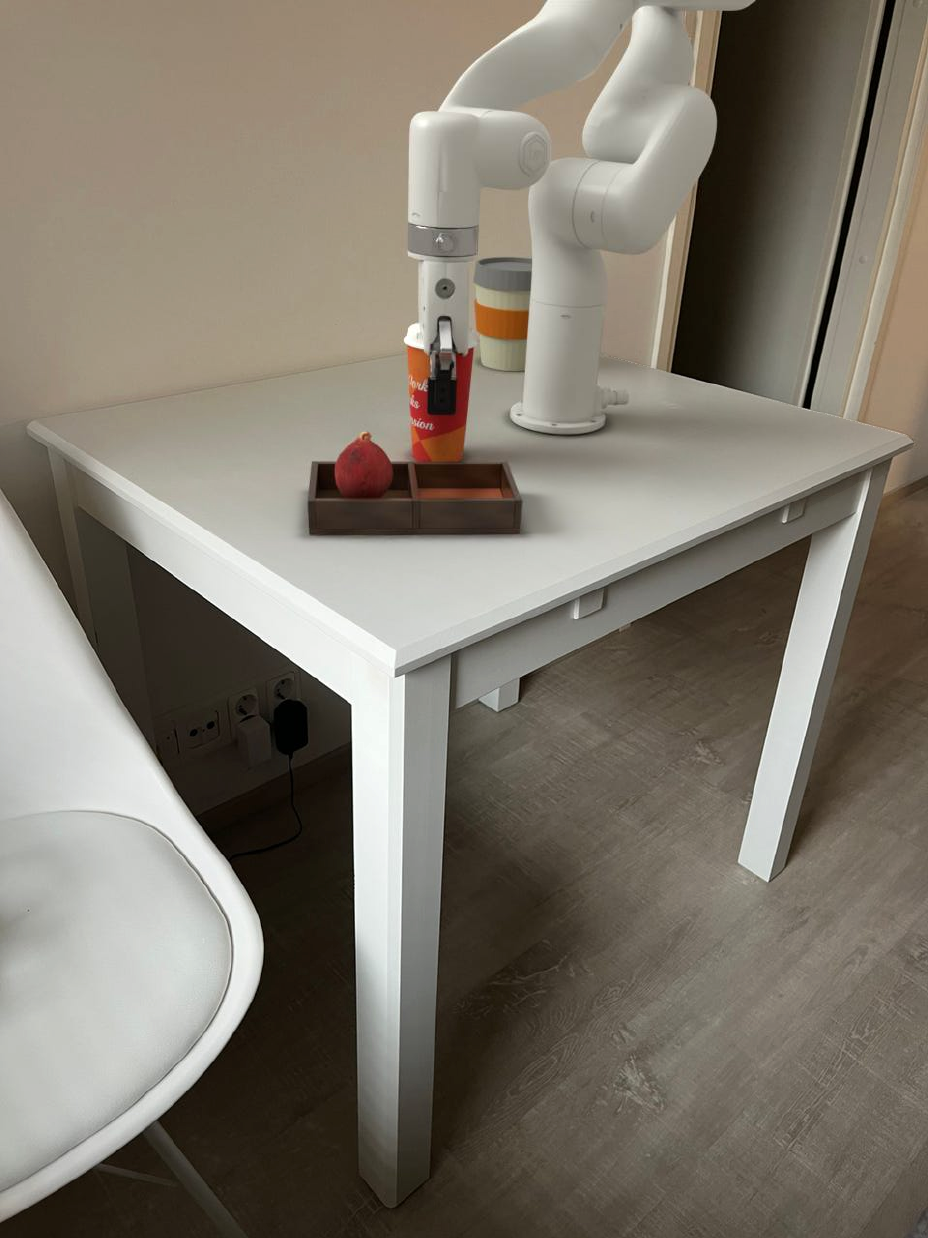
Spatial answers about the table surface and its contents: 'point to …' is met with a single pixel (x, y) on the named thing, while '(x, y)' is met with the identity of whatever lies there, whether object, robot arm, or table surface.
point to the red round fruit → (363, 469)
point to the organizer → (420, 501)
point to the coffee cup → (428, 432)
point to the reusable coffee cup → (503, 310)
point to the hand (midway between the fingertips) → (438, 401)
